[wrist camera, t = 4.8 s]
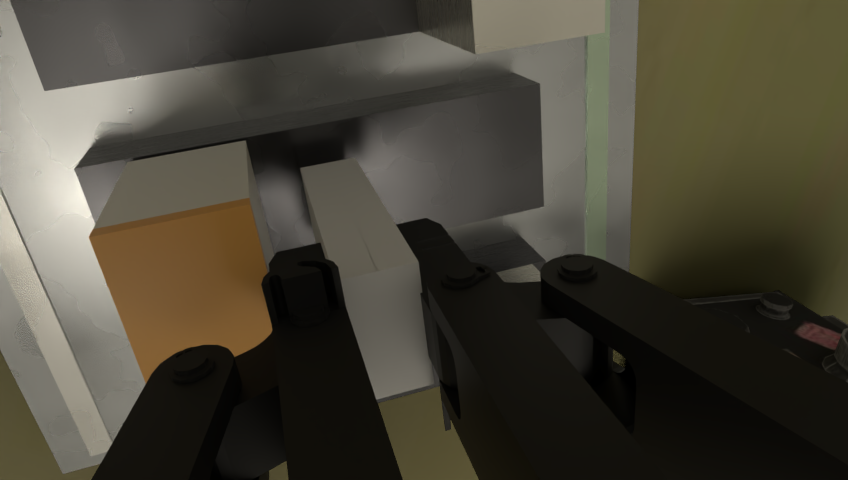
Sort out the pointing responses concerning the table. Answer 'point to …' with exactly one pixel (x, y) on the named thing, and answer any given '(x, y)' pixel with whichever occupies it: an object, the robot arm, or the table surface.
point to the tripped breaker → (186, 253)
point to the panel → (249, 92)
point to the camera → (786, 327)
